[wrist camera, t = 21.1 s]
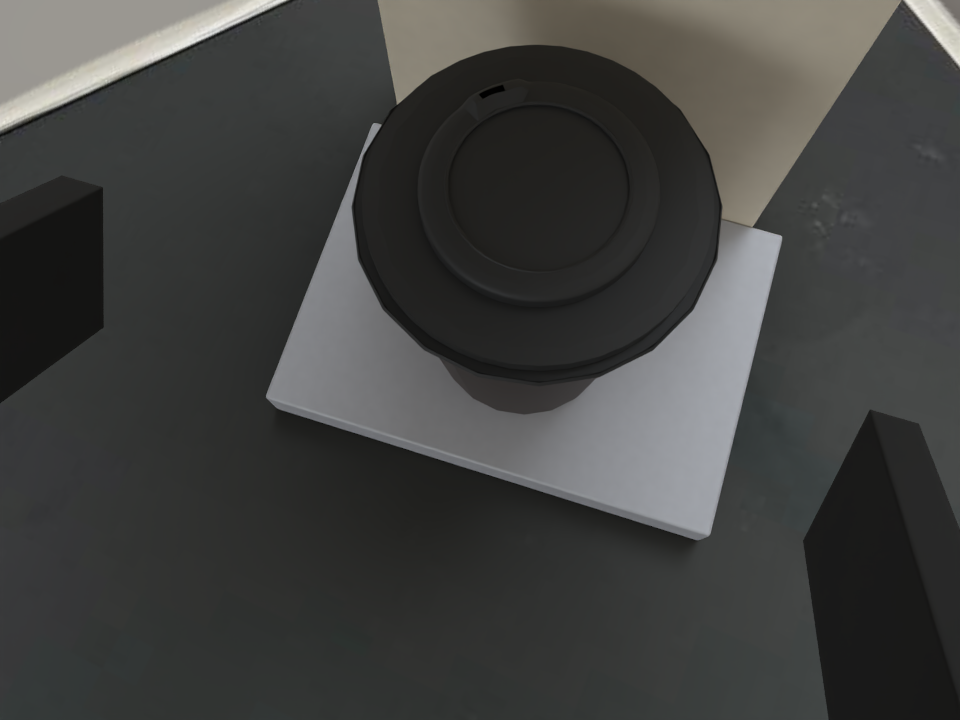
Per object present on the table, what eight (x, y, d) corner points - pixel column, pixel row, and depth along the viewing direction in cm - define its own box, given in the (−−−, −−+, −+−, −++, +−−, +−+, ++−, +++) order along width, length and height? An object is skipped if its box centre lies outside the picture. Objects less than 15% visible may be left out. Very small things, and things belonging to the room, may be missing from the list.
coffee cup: (495, 167, 30) (495, -49, 20) (704, 304, 28) (811, 141, 19) (341, 358, 28) (261, 221, 18) (555, 514, 27) (590, 452, 17)
